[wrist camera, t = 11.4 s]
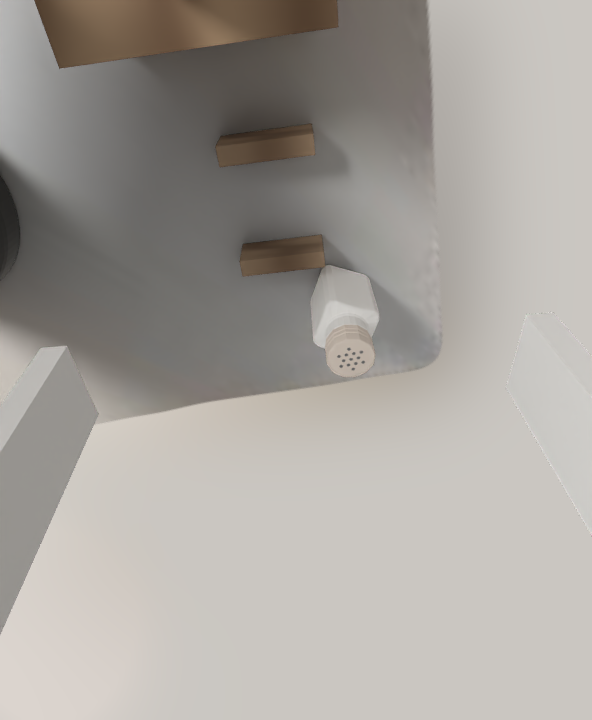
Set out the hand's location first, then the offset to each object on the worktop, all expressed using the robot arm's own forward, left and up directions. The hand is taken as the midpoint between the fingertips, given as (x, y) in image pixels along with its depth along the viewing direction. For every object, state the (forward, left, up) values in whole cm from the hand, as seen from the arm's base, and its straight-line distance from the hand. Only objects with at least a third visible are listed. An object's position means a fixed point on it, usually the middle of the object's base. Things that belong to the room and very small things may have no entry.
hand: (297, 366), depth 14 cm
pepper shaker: (+3, -10, -23) cm, 25 cm away
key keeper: (-1, -2, -22) cm, 23 cm away
